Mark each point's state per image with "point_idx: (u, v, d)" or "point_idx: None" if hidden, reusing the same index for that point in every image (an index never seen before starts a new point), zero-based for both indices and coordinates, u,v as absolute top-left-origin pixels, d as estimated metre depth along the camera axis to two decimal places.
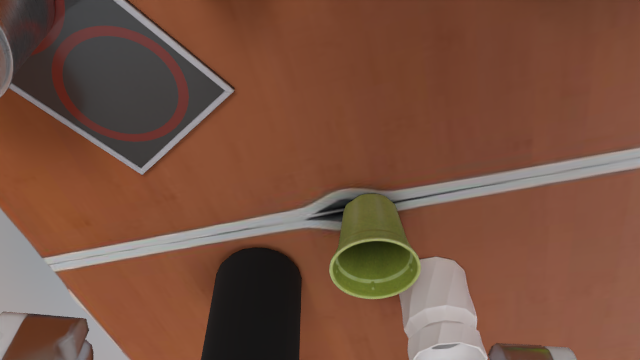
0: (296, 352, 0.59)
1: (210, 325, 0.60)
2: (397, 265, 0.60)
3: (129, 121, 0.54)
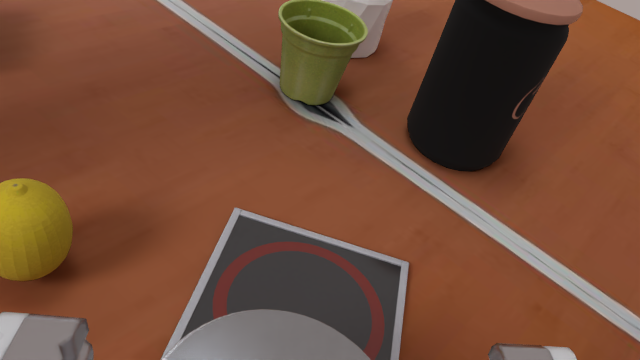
0: None
1: (502, 95, 0.50)
2: (321, 28, 0.60)
3: (342, 290, 0.41)
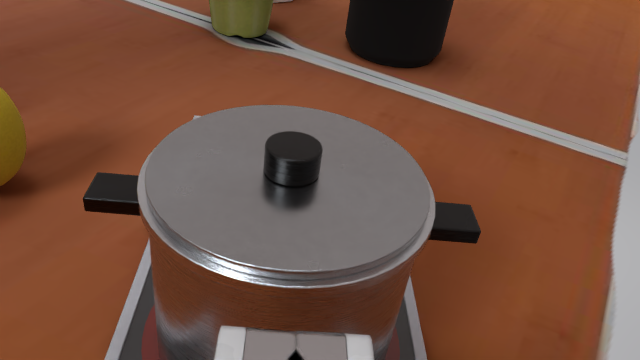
0: None
1: None
2: None
3: None
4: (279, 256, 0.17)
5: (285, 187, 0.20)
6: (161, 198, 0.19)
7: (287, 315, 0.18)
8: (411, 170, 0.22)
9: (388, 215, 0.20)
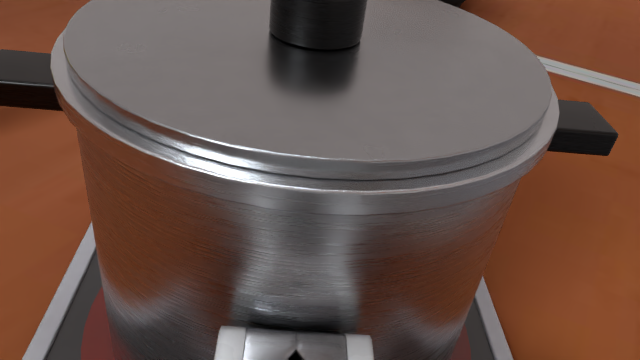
0: None
1: None
2: None
3: None
4: (307, 137, 0.09)
5: (307, 50, 0.12)
6: (89, 55, 0.11)
7: (322, 257, 0.10)
8: (504, 40, 0.14)
9: (488, 89, 0.11)
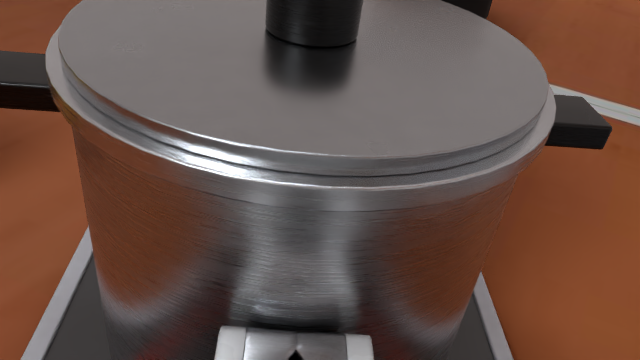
0: None
1: None
2: None
3: None
4: (310, 134, 0.09)
5: (305, 48, 0.12)
6: (85, 54, 0.10)
7: (325, 253, 0.10)
8: (498, 36, 0.14)
9: (486, 84, 0.11)
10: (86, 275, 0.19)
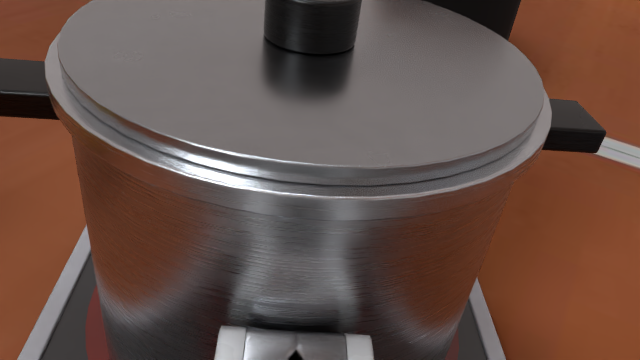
0: None
1: None
2: None
3: None
4: (312, 144, 0.09)
5: (303, 55, 0.12)
6: (85, 64, 0.11)
7: (326, 262, 0.10)
8: (494, 41, 0.14)
9: (483, 91, 0.12)
10: None
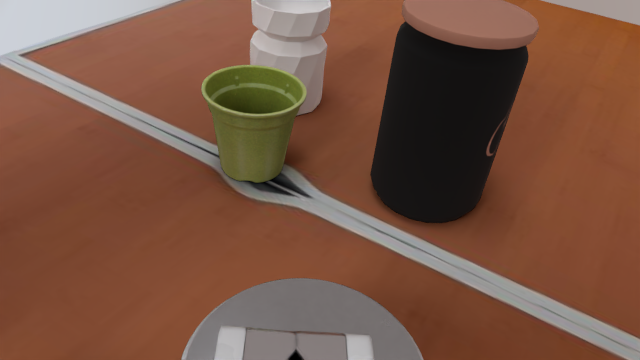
0: None
1: (471, 135, 0.44)
2: (255, 95, 0.54)
3: None
4: None
5: None
6: None
7: None
8: (410, 356, 0.26)
9: None
10: None
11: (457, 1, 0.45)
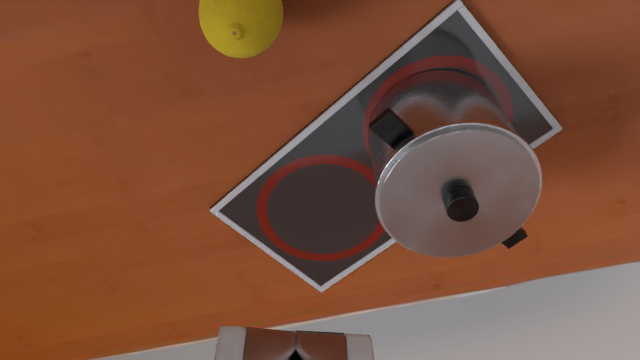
0: None
1: None
2: None
3: None
4: (404, 236, 0.40)
5: (444, 207, 0.38)
6: (389, 184, 0.37)
7: None
8: (510, 229, 0.40)
9: (465, 244, 0.40)
10: (332, 116, 0.45)
11: None
